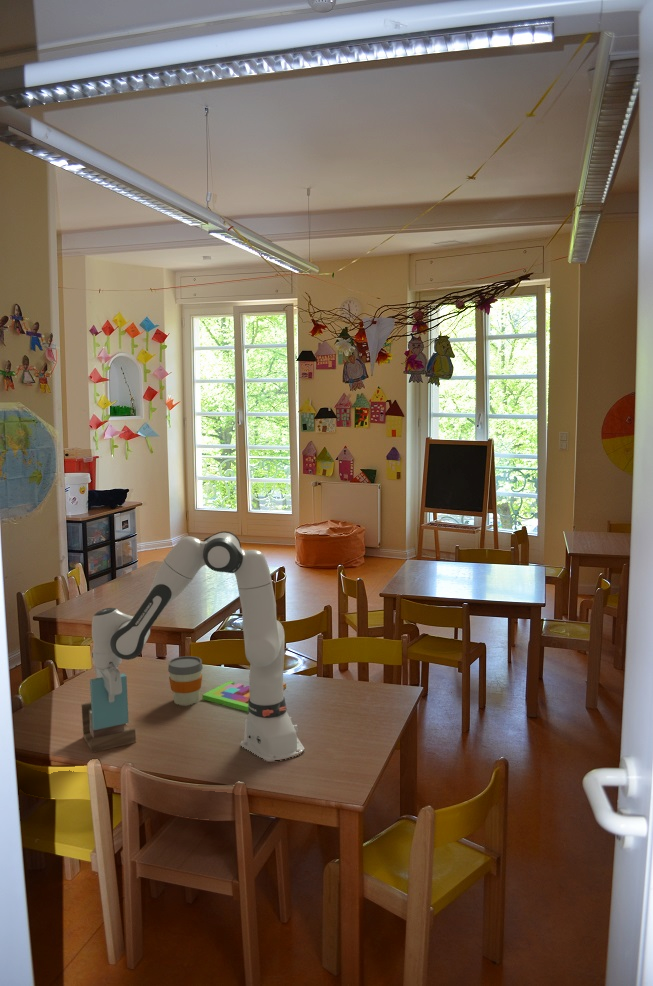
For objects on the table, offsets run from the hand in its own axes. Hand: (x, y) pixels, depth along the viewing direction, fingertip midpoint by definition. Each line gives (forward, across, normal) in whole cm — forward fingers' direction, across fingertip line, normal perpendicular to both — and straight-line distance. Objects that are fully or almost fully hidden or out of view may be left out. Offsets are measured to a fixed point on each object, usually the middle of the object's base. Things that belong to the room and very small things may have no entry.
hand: (109, 699), depth 251 cm
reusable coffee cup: (+15, +21, -33) cm, 42 cm away
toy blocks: (+16, +15, -55) cm, 59 cm away
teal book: (+9, 0, 0) cm, 9 cm away
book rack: (+15, +3, 0) cm, 16 cm away
